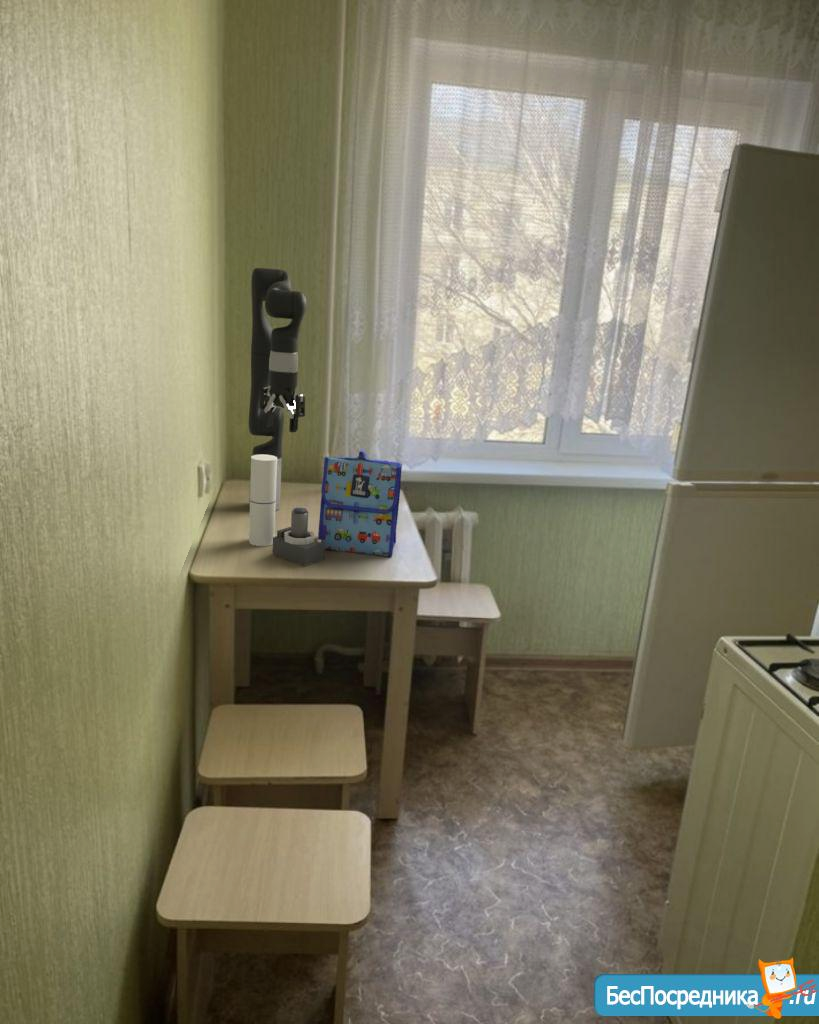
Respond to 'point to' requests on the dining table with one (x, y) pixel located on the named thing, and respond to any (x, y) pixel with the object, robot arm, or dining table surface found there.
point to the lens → (299, 523)
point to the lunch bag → (359, 504)
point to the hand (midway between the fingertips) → (281, 429)
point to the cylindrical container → (262, 499)
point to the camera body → (298, 547)
